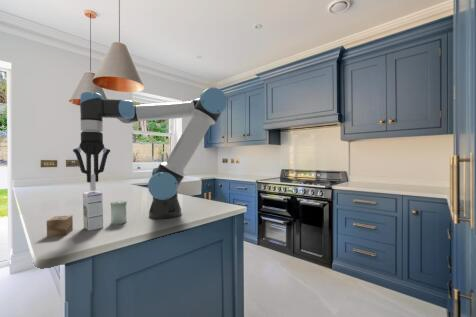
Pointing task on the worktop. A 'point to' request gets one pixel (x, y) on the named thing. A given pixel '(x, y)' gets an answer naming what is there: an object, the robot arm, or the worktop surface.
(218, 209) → the worktop surface
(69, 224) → the cardboard box
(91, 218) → the syrup box
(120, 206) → the sage jar
